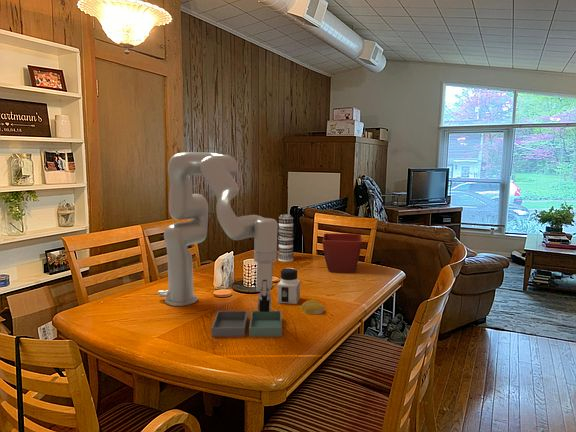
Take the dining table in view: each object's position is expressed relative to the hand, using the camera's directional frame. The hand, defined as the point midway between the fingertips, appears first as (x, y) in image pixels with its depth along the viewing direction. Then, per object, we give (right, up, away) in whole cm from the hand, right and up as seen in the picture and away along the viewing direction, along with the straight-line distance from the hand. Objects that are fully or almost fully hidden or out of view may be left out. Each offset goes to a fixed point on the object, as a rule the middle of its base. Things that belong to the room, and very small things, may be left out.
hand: (264, 307), depth 147 cm
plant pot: (+35, +4, +75) cm, 83 cm away
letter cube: (0, 0, 0) cm, 0 cm away
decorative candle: (+7, +7, +94) cm, 94 cm away
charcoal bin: (-12, -7, 0) cm, 14 cm away
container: (+8, -3, +29) cm, 30 cm away
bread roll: (+17, -5, +17) cm, 25 cm away
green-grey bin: (0, -7, +1) cm, 7 cm away
